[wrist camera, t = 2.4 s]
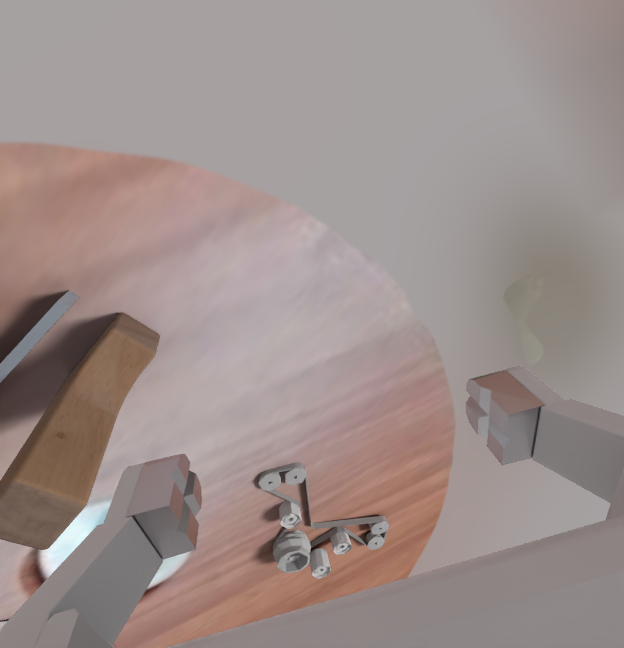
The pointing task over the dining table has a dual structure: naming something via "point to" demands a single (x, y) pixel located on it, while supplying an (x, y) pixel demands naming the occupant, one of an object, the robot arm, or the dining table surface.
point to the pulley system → (295, 544)
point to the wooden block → (72, 437)
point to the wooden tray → (36, 333)
